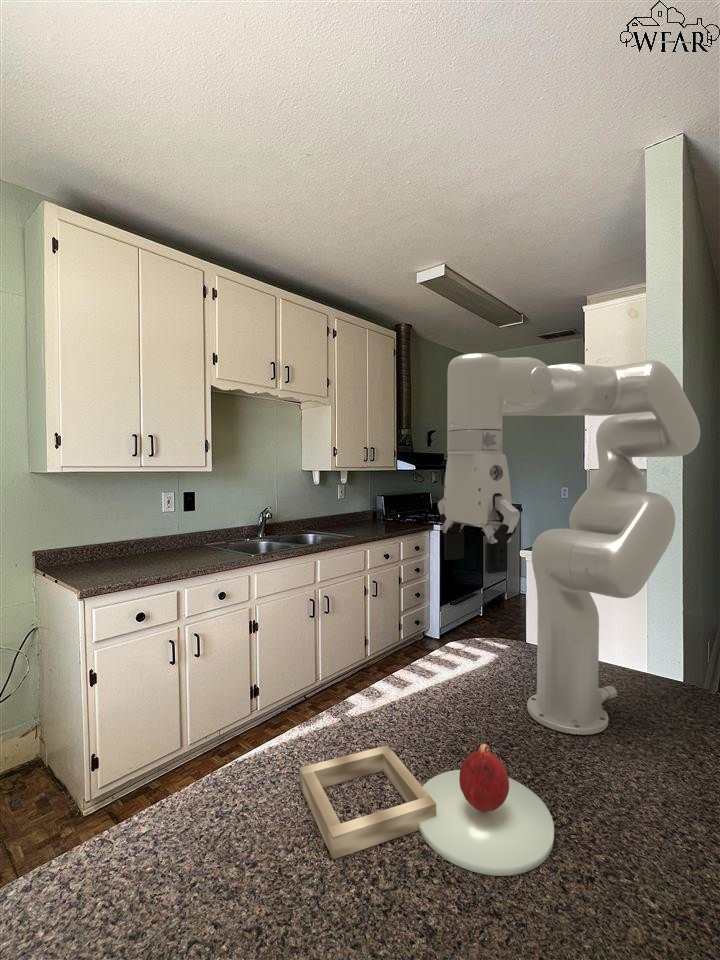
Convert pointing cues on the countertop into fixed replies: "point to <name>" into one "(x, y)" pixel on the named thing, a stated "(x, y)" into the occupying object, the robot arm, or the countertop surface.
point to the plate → (488, 829)
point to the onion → (484, 780)
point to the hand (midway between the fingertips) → (474, 565)
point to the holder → (375, 825)
